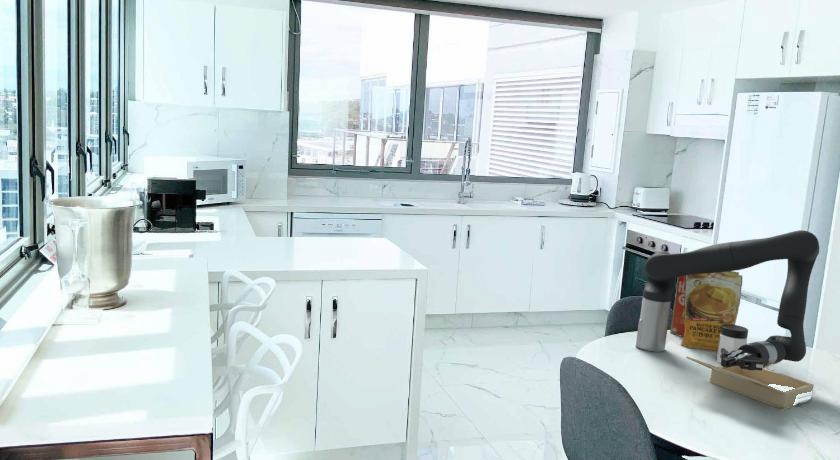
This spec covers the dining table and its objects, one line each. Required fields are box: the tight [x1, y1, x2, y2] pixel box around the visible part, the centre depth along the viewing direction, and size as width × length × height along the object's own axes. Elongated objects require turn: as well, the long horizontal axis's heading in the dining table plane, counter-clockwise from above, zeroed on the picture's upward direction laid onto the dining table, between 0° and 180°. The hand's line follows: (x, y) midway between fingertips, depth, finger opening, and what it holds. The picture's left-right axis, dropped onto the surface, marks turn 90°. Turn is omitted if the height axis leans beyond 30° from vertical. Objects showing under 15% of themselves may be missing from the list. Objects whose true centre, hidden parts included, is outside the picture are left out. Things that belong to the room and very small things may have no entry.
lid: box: [685, 356, 784, 394], centre depth 194 cm, size 16×21×1 cm
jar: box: [716, 324, 749, 364], centre depth 228 cm, size 9×8×12 cm
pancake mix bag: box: [680, 271, 743, 353], centre depth 242 cm, size 7×19×28 cm, turn 77°
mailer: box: [709, 365, 815, 410], centre depth 204 cm, size 16×22×4 cm
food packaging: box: [669, 275, 686, 337], centre depth 257 cm, size 13×9×25 cm
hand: (724, 363), depth 190 cm, fingers closed
